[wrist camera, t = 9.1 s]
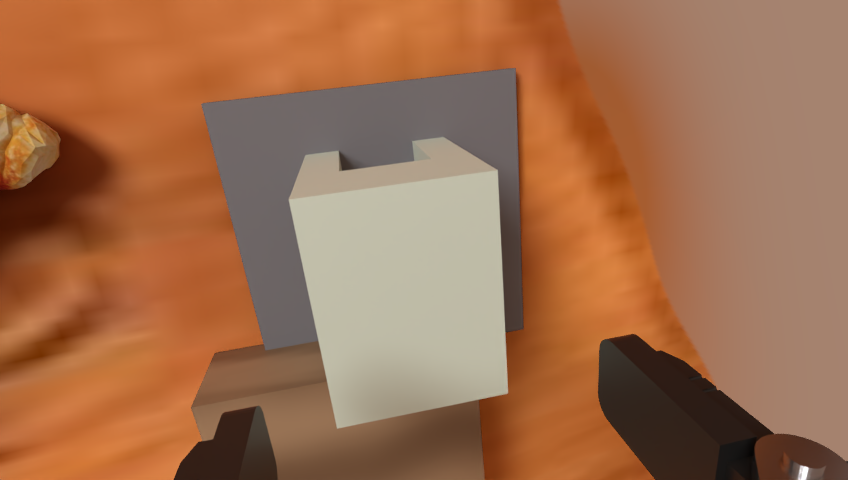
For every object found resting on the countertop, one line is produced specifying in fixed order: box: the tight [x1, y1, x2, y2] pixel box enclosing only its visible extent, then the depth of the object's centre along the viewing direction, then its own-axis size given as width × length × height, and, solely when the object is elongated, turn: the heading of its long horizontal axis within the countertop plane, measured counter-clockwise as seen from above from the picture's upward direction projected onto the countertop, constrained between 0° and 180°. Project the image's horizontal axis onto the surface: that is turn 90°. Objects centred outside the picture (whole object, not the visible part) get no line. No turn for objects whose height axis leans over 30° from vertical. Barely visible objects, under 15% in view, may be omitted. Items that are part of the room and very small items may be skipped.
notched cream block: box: [289, 137, 508, 429], centre depth 18 cm, size 6×8×8 cm
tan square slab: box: [191, 341, 485, 480], centre depth 23 cm, size 10×12×4 cm
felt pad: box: [202, 68, 523, 350], centre depth 22 cm, size 13×13×1 cm
